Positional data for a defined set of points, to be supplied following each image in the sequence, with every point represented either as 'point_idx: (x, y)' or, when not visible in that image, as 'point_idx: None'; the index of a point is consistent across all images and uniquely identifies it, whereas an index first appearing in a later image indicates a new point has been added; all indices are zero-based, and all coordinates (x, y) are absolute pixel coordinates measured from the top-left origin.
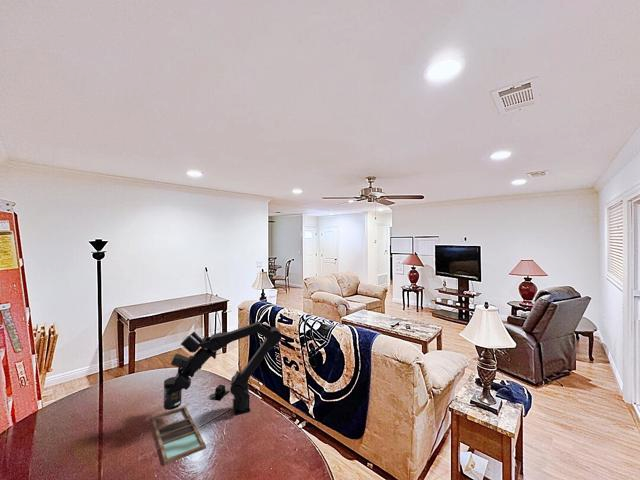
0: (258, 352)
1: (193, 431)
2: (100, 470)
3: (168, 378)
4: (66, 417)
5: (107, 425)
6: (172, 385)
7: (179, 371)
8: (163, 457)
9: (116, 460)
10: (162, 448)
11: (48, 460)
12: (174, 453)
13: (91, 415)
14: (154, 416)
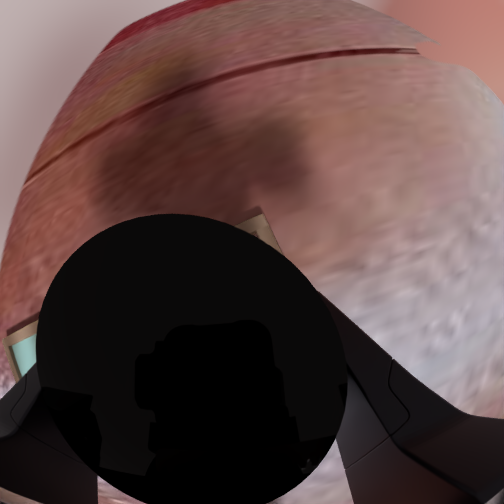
0: None
1: None
2: (33, 175)
3: (289, 269)
4: (313, 12)
5: (250, 81)
6: (26, 386)
7: (415, 488)
8: (11, 334)
9: (47, 195)
10: (36, 326)
11: (127, 51)
12: (28, 363)
13: (319, 40)
14: (260, 229)
